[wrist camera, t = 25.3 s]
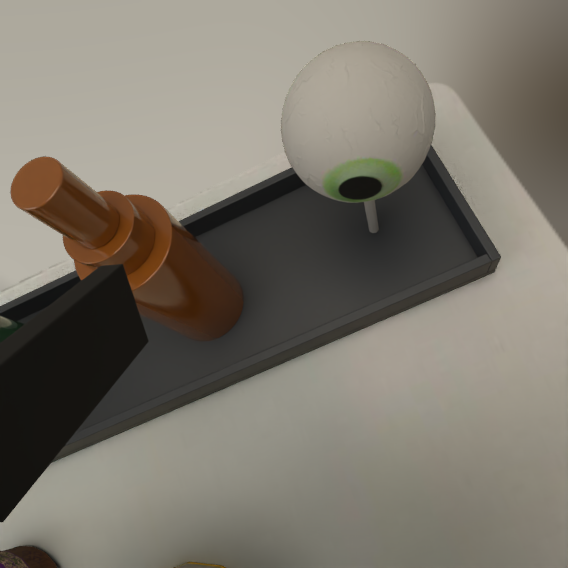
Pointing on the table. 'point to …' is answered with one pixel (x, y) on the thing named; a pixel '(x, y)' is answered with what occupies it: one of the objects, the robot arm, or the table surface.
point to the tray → (291, 285)
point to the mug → (25, 558)
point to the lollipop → (358, 123)
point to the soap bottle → (198, 565)
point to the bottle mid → (134, 249)
